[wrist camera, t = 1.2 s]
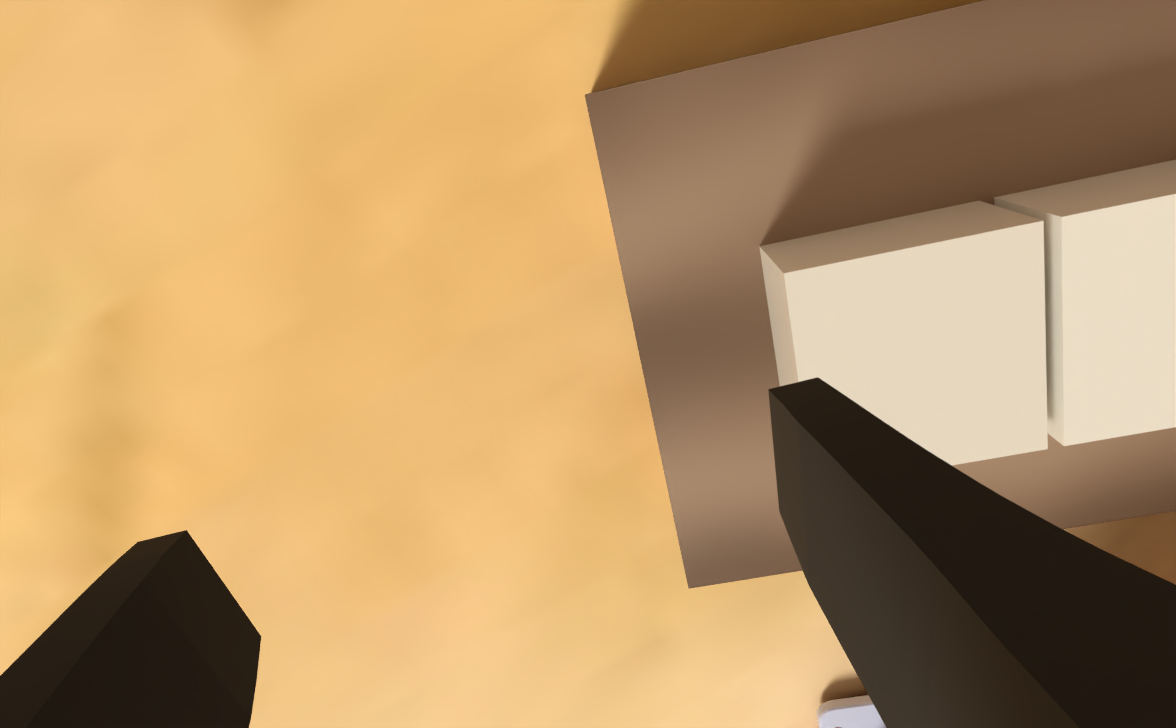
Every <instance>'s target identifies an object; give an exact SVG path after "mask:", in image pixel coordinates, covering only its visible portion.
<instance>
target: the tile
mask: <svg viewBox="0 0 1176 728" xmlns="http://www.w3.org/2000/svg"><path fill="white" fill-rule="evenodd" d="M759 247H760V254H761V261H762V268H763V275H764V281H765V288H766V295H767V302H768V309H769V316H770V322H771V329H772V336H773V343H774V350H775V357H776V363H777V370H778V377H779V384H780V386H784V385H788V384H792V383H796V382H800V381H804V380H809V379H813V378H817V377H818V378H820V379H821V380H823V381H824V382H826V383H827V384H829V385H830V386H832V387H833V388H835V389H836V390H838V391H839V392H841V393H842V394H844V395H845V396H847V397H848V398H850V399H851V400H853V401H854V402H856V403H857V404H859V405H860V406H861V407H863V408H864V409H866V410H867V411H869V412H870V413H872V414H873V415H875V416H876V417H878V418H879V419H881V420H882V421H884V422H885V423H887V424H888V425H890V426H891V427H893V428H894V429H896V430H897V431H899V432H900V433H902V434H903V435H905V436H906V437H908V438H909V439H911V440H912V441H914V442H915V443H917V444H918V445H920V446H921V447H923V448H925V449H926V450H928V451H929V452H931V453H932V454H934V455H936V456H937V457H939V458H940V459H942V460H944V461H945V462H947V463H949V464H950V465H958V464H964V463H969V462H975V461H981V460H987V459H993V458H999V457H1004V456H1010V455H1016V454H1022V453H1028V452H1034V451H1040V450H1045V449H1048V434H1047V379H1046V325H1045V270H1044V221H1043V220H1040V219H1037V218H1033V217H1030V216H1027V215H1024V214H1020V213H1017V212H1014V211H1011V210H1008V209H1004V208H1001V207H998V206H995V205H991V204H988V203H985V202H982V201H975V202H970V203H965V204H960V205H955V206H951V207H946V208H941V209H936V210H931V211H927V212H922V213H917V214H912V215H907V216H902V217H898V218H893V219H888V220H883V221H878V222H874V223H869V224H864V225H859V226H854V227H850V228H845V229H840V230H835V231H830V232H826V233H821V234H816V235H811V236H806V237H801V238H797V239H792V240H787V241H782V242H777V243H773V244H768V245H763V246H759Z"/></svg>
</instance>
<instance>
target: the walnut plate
mask: <svg viewBox="0 0 1176 728" xmlns="http://www.w3.org/2000/svg"><path fill="white" fill-rule="evenodd" d="M585 98H586V103H587V107H588V112H589V117H590V122H591V126H592V131H593V136H594V141H595V145H596V150H597V155H598V160H599V164H600V169H601V174H602V179H603V184H604V188H605V193H606V198H607V203H608V207H609V212H610V217H611V222H612V226H613V231H614V236H615V241H616V245H617V250H618V255H619V260H620V264H621V269H622V274H623V279H624V283H625V288H626V293H627V298H628V302H629V307H630V312H631V317H632V321H633V326H634V331H635V336H636V340H637V345H638V350H639V355H640V359H641V364H642V369H643V374H644V378H645V383H646V388H647V393H648V397H649V402H650V407H651V412H652V416H653V421H654V426H655V431H656V435H657V440H658V445H659V450H660V454H661V459H662V464H663V469H664V473H665V478H666V483H667V488H668V492H669V497H670V502H671V507H672V511H673V516H674V521H675V526H676V530H677V535H678V540H679V545H680V549H681V554H682V559H683V564H684V568H685V573H686V578H687V583H688V587H689V588H695V587H701V586H708V585H714V584H720V583H727V582H733V581H739V580H745V579H752V578H758V577H764V576H770V575H777V574H783V573H789V572H795V571H802V567H801V565H800V562H799V560H798V558H797V555H796V553H795V550H794V548H793V545H792V543H791V540H790V537H789V535H788V532H787V530H786V527H785V525H784V522H783V520H782V517H781V514H780V512H779V503H778V492H777V481H776V470H775V459H774V448H773V437H772V426H771V414H770V403H769V392H768V389H771V388H776V387H780V384H779V377H778V370H777V363H776V357H775V350H774V343H773V336H772V329H771V322H770V316H769V309H768V302H767V295H766V288H765V281H764V275H763V268H762V261H761V254H760V247H759V246H763V245H768V244H773V243H777V242H782V241H787V240H792V239H797V238H801V237H806V236H811V235H816V234H821V233H826V232H830V231H835V230H840V229H845V228H850V227H854V226H859V225H864V224H869V223H874V222H878V221H883V220H888V219H893V218H898V217H902V216H907V215H912V214H917V213H922V212H927V211H931V210H936V209H941V208H946V207H951V206H955V205H960V204H965V203H970V202H975V201H982V202H985V203H988V204H991V205H994V197H999V196H1003V195H1008V194H1013V193H1018V192H1023V191H1028V190H1032V189H1037V188H1042V187H1047V186H1052V185H1056V184H1061V183H1066V182H1071V181H1076V180H1080V179H1085V178H1090V177H1095V176H1100V175H1104V174H1109V173H1114V172H1119V171H1124V170H1129V169H1133V168H1138V167H1143V166H1148V165H1153V164H1157V163H1162V162H1167V161H1172V160H1176V0H983V1H979V2H975V3H971V4H966V5H962V6H958V7H954V8H949V9H945V10H941V11H937V12H932V13H928V14H924V15H920V16H916V17H911V18H907V19H903V20H899V21H894V22H890V23H886V24H882V25H877V26H873V27H869V28H865V29H860V30H856V31H852V32H848V33H844V34H839V35H835V36H831V37H827V38H822V39H818V40H814V41H810V42H805V43H801V44H797V45H793V46H788V47H784V48H780V49H776V50H772V51H767V52H763V53H759V54H755V55H750V56H746V57H742V58H738V59H733V60H729V61H725V62H721V63H716V64H712V65H708V66H704V67H700V68H695V69H691V70H687V71H683V72H678V73H674V74H670V75H666V76H661V77H657V78H653V79H649V80H644V81H640V82H636V83H632V84H628V85H623V86H619V87H615V88H611V89H606V90H602V91H598V92H594V93H589V94H585ZM1047 434H1048V433H1047ZM952 466H953V467H955V468H957V469H958V470H960V471H961V472H963V473H965V474H966V475H968V476H969V477H971V478H973V479H974V480H976V481H978V482H979V483H981V484H982V485H984V486H986V487H988V488H989V489H991V490H993V491H994V492H996V493H998V494H999V495H1001V496H1003V497H1005V498H1006V499H1008V500H1010V501H1012V502H1014V503H1015V504H1017V505H1019V506H1021V507H1023V508H1024V509H1026V510H1028V511H1030V512H1032V513H1034V514H1035V515H1037V516H1039V517H1041V518H1043V519H1044V520H1046V521H1048V522H1050V523H1052V524H1053V525H1055V526H1057V527H1059V528H1061V529H1065V528H1071V527H1078V526H1084V525H1090V524H1096V523H1103V522H1109V521H1115V520H1122V519H1128V518H1134V517H1140V516H1147V515H1153V514H1159V513H1165V512H1172V511H1176V427H1174V428H1168V429H1162V430H1157V431H1151V432H1145V433H1139V434H1133V435H1127V436H1121V437H1116V438H1110V439H1104V440H1098V441H1092V442H1086V443H1081V444H1075V445H1069V446H1063V445H1062V444H1060V443H1059V442H1058V441H1057V440H1055V439H1054V438H1053V437H1052V436H1051V435H1049V434H1048V449H1045V450H1040V451H1034V452H1028V453H1022V454H1016V455H1010V456H1004V457H999V458H993V459H987V460H981V461H975V462H969V463H964V464H958V465H952Z"/></svg>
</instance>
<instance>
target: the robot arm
mask: <svg viewBox="0 0 1176 728" xmlns="http://www.w3.org/2000/svg"><path fill="white" fill-rule="evenodd" d="M768 392H769V403H770V414H771V426H772V437H773V448H774V459H775V470H776V481H777V492H778V503H779V512H780V514H781V517H782V520H783V522H784V525H785V527H786V530H787V532H788V535H789V537H790V540H791V543H792V545H793V548H794V550H795V553H796V555H797V558H798V560H799V562H800V565H801V567H802V570H803V572H804V575H805V577H806V579H807V582H808V584H809V586H810V588H811V590H812V592H813V594H814V596H815V597H816V599H817V601H818V603H819V605H820V607H821V609H822V610H823V612H824V614H825V616H826V618H827V620H828V622H829V623H830V625H831V627H832V629H833V631H834V633H835V635H836V636H837V638H838V640H839V642H840V644H841V646H842V647H843V649H844V651H845V653H846V655H847V657H848V658H849V660H850V662H851V664H852V666H853V668H854V669H855V671H856V673H857V675H858V677H859V679H860V680H861V682H862V684H863V686H864V688H865V690H866V691H867V693H868V695H865V696H858V697H850V698H843V699H836V700H830V701H827V702H824V703H823V704H821V705H820V706H819V708H818V710H817V720H818V726H819V728H835V727H840V728H1176V585H1175V584H1173V583H1170V582H1168V581H1166V580H1164V579H1162V578H1160V577H1158V576H1156V575H1154V574H1152V573H1149V572H1147V571H1145V570H1143V569H1141V568H1139V567H1137V566H1135V565H1133V564H1130V563H1128V562H1126V561H1124V560H1122V559H1120V558H1118V557H1116V556H1114V555H1112V554H1109V553H1107V552H1105V551H1103V550H1101V549H1099V548H1097V547H1095V546H1093V545H1092V544H1090V543H1088V542H1086V541H1084V540H1082V539H1080V538H1078V537H1076V536H1074V535H1072V534H1070V533H1068V532H1066V531H1064V530H1062V529H1061V528H1059V527H1057V526H1055V525H1053V524H1052V523H1050V522H1048V521H1046V520H1044V519H1043V518H1041V517H1039V516H1037V515H1035V514H1034V513H1032V512H1030V511H1028V510H1026V509H1024V508H1023V507H1021V506H1019V505H1017V504H1015V503H1014V502H1012V501H1010V500H1008V499H1006V498H1005V497H1003V496H1001V495H999V494H998V493H996V492H994V491H993V490H991V489H989V488H988V487H986V486H984V485H982V484H981V483H979V482H978V481H976V480H974V479H973V478H971V477H969V476H968V475H966V474H965V473H963V472H961V471H960V470H958V469H957V468H955V467H953V466H952V465H950V464H949V463H947V462H945V461H944V460H942V459H940V458H939V457H937V456H936V455H934V454H932V453H931V452H929V451H928V450H926V449H925V448H923V447H921V446H920V445H918V444H917V443H915V442H914V441H912V440H911V439H909V438H908V437H906V436H905V435H903V434H902V433H900V432H899V431H897V430H896V429H894V428H893V427H891V426H890V425H888V424H887V423H885V422H884V421H882V420H881V419H879V418H878V417H876V416H875V415H873V414H872V413H870V412H869V411H867V410H866V409H864V408H863V407H861V406H860V405H859V404H857V403H856V402H854V401H853V400H851V399H850V398H848V397H847V396H845V395H844V394H842V393H841V392H839V391H838V390H836V389H835V388H833V387H832V386H830V385H829V384H827V383H826V382H824V381H823V380H821V379H820V378H818V377H817V378H813V379H809V380H804V381H800V382H796V383H792V384H788V385H784V386H780V387H776V388H771V389H768ZM260 642H261V636H260V634H259V633H258V631H257V630H256V628H255V627H254V626H253V624H252V623H251V621H250V620H249V618H248V617H247V616H246V614H245V613H244V611H243V610H242V609H241V607H240V606H239V604H238V603H237V601H236V600H235V599H234V597H233V596H232V594H231V593H230V591H229V590H228V589H227V587H226V586H225V584H224V583H223V581H222V580H221V579H220V577H219V576H218V574H217V573H216V572H215V570H214V569H213V567H212V566H211V564H210V563H209V562H208V560H207V559H206V557H205V556H204V554H203V553H202V552H201V550H200V549H199V547H198V546H197V544H196V543H195V542H194V540H193V539H192V537H191V536H190V534H189V533H188V532H187V530H186V531H181V532H177V533H173V534H169V535H165V536H161V537H157V538H153V539H148V540H144V541H140V542H137V543H136V544H135V545H134V546H133V547H132V548H130V549H129V550H128V551H127V552H126V553H125V554H124V555H122V556H121V557H120V558H119V559H118V560H117V561H116V562H115V563H114V564H113V565H111V566H110V567H109V568H108V569H107V570H106V571H105V572H104V573H103V574H102V575H101V576H100V577H99V578H98V579H97V580H96V581H95V582H94V583H93V584H92V585H91V586H90V587H89V588H88V589H87V590H86V591H85V592H84V593H82V594H81V595H80V596H79V597H78V598H77V599H76V600H75V601H74V602H73V603H72V604H71V605H70V606H69V607H68V608H67V609H66V610H65V611H64V612H63V613H62V614H61V615H60V617H59V618H58V619H57V620H56V621H55V622H54V623H53V624H52V625H51V626H50V627H49V628H48V629H47V630H46V631H45V632H44V633H43V634H42V635H41V636H40V637H39V638H38V639H37V640H36V641H35V642H34V643H33V644H32V645H31V646H30V647H29V648H28V649H27V650H26V651H25V652H24V653H23V654H22V655H21V656H20V657H19V658H18V659H17V660H16V661H15V662H14V663H13V664H12V665H11V666H10V667H9V668H8V669H7V670H6V671H5V672H4V673H3V674H2V675H1V676H0V728H249V724H250V720H251V714H252V707H253V700H254V693H255V686H256V679H257V670H258V661H259V651H260Z"/></svg>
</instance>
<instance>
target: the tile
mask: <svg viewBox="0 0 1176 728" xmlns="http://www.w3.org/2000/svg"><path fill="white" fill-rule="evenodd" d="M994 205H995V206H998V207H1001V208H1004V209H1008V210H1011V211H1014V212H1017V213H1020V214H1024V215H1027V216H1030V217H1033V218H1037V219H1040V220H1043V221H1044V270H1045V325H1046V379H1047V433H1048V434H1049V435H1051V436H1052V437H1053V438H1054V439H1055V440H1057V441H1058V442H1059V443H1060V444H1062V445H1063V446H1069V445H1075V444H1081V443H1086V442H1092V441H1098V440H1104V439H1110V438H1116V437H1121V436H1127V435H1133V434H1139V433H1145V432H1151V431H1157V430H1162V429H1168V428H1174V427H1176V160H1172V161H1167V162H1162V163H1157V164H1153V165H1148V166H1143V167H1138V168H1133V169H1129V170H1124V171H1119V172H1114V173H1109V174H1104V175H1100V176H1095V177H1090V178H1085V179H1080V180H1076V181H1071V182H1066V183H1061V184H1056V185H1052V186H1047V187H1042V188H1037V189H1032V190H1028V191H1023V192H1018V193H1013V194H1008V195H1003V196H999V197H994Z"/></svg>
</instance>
